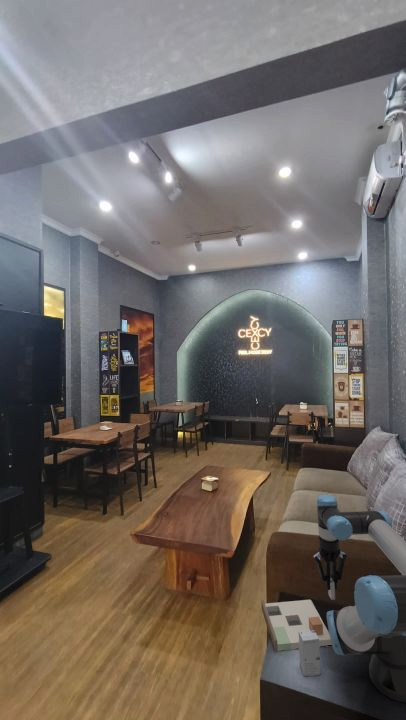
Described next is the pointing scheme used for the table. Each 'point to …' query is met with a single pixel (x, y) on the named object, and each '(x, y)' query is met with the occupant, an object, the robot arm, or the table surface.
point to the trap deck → (291, 623)
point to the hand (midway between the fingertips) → (331, 597)
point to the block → (316, 625)
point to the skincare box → (309, 653)
